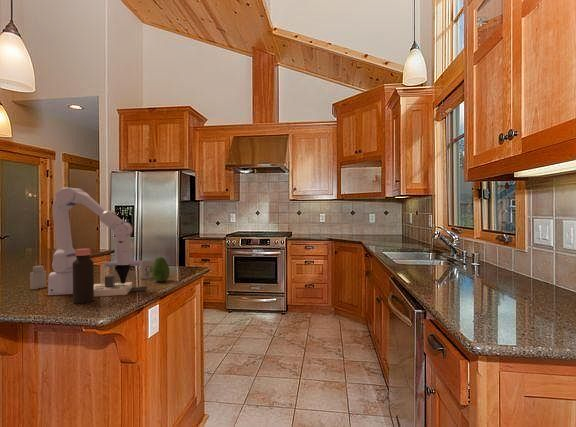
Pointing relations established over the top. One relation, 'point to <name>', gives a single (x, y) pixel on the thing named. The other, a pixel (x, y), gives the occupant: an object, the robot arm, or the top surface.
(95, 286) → the power strip
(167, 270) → the avocado
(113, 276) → the breaker slider
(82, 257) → the bottle
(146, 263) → the electrical switch
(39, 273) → the power adapter
